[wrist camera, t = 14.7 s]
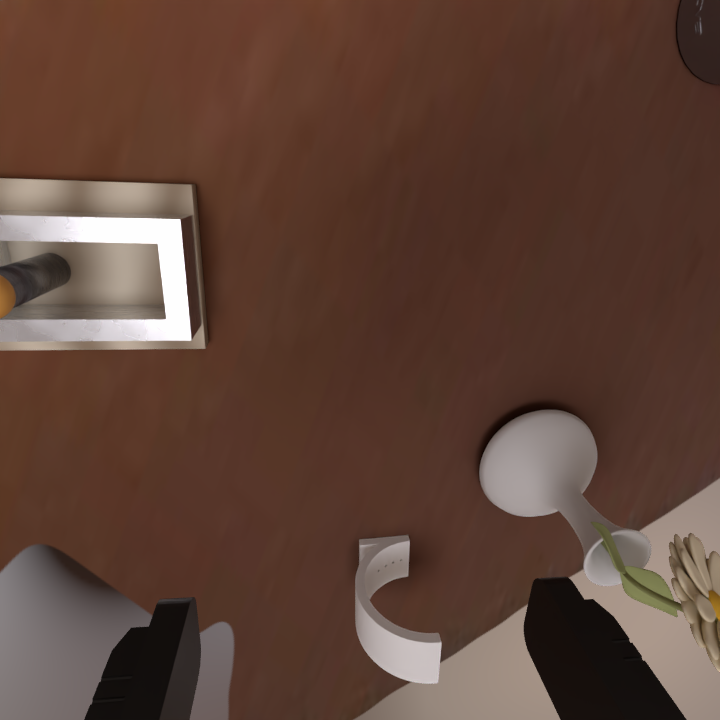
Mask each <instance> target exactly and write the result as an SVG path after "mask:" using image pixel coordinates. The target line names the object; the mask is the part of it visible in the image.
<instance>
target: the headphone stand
mask: <svg viewBox="0 0 720 720" xmlns="http://www.w3.org/2000/svg"><path fill="white" fill-rule="evenodd" d="M409 548H410V540H409V537H408V535H405V536H393V537H382V538H370V539H359V566H358V569H357V572H356V579H355V622H356V630H357V634H358V637H359V640H360V642H361V644H362V646H363V648H364V650H365V651H366V652H367V654H368V655H369V656H370V658H371V659H372V660H373V661H374V662H375V663H376V664H378V665H379V666H380V667H381V668H383V669H384V670H385V671H387V672H389V673H390V674H392V675H394V676H396V677H399V678H401V679H404V680H407V681H411V682H416V683H427V684H433V683H438V678H439V666H440V655H441V643H442V642H441V639H440V636H439V633H420V632H414V631H410V630H407V629H404V628H401V627H399V626H397V625H395V624H393V623H392V622H390V621H388V620H387V619H386V618H384V617H383V616H382V615H381V614H380V613H379V612H378V611H377V610H376V609H375V608H374V607H373V605H372V603H371V602H370V598H371V596H372V595H373V594H374V593H375V592H376V591H377V590H378V589H379V588H380V587H381V586H383V585H384V584H386V583H388V582H390V581H392V580H395V579H398V578H402V577H408V569H409Z"/></svg>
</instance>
